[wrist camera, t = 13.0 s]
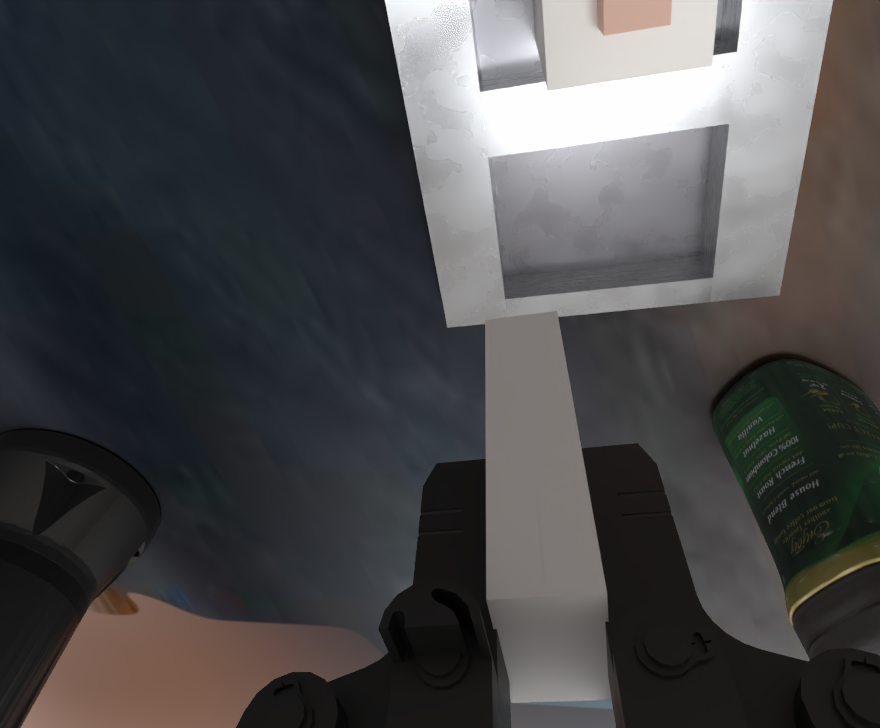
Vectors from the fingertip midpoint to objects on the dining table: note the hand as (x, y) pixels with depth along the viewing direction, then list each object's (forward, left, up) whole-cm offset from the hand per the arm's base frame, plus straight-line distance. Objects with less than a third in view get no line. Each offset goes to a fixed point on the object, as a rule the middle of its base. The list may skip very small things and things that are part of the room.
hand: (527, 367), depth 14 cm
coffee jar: (+16, -22, -22) cm, 35 cm away
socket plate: (+4, 0, -22) cm, 22 cm away
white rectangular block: (+4, +5, -22) cm, 23 cm away
